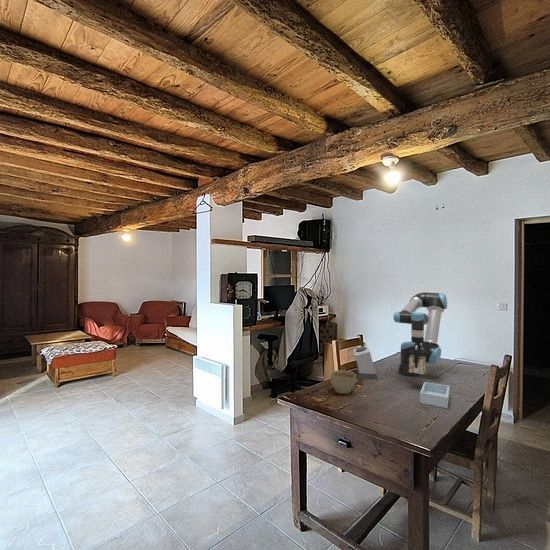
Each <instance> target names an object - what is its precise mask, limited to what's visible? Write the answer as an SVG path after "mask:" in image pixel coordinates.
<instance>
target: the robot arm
mask: <svg viewBox="0 0 550 550" xmlns="http://www.w3.org/2000/svg"><path fill="white" fill-rule="evenodd" d="M420 308H426V310H427V311H428V314H426V313H423V312H421V311H420V312H419V311H417V310H419V309H420ZM447 308H448V299H447V295H446V294H445V293H443V292H425V291H424V292H420V293H417V294H415V295H413V296H412V297H411V298H410V299H409V302H408V303H407V304H406V305H405V306H404V307H403V309H402V310H401V311H395V312H394V313H393V322H395V323H399V324H408V325H411V330H410V331H411V337H410V338H411V339H410V341H404V342H402V343H401V344H400V362H399V365H398V369H397V373H398V374H399V375H402V376H406V377H419V376H420V375H421V374H418V373H419V363H418V360H419V356H421V357H426V363H428V364H437V363H439V361H440V360H441V356H442V348H441V347H440V345H439V343H438V340H439V333H440V325H441V324H440V323H441V320H442V319H441V318H442V313H444V311H445V310H447ZM425 325H426V327H425ZM424 329H425V330H424ZM411 355H413V356H414V361H413V362H414V372H415V373H411V372H409V358H410V356H411ZM416 360H417V361H416Z"/></svg>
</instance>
